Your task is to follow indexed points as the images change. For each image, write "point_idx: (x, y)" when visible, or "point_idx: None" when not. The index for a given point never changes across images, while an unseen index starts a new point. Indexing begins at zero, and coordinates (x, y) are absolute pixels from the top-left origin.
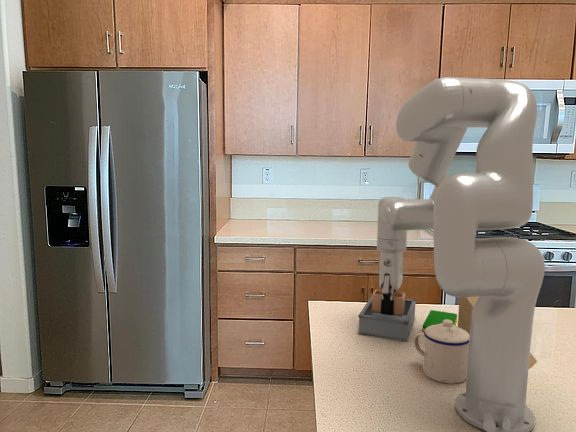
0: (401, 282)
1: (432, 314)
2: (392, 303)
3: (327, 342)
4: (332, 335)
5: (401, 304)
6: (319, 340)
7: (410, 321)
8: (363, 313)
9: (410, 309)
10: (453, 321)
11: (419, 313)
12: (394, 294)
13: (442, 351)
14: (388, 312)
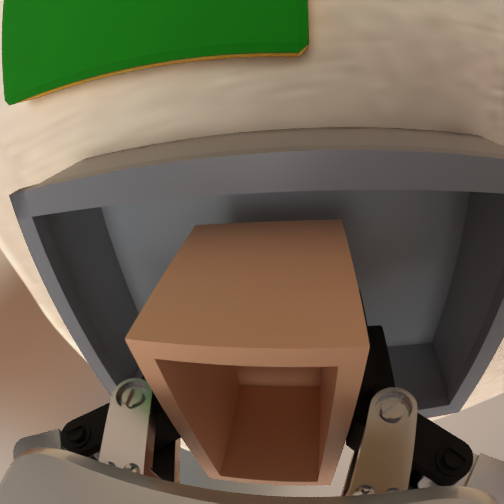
0: (113, 499)
1: (55, 64)
2: (370, 365)
3: (494, 380)
4: None
5: (354, 296)
6: (481, 396)
7: (351, 141)
8: (433, 408)
9: (231, 181)
10: None
11: (29, 158)
12: (189, 398)
13: None
14: (380, 326)
